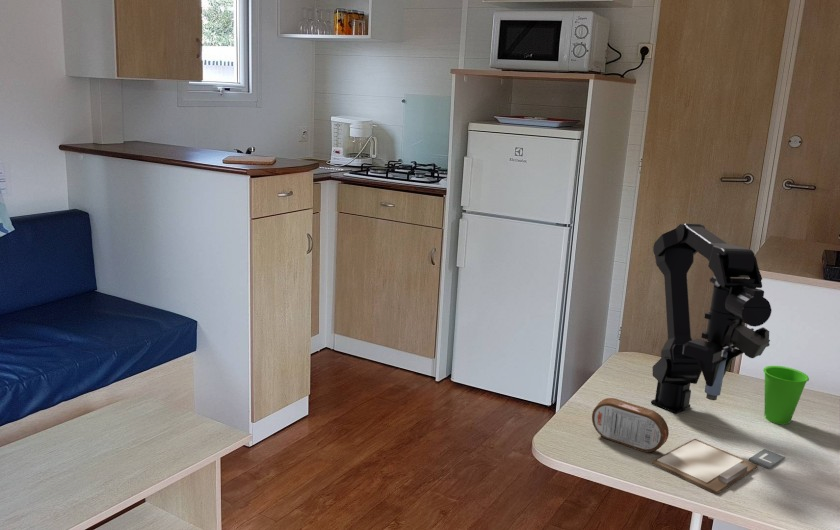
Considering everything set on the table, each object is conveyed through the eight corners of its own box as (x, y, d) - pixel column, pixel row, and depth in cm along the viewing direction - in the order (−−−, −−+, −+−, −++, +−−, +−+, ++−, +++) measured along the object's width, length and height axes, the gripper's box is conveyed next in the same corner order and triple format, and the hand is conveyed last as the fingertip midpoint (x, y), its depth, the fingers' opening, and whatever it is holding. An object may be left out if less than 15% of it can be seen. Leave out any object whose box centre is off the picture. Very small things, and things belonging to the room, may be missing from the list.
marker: (700, 397, 146) (707, 349, 144) (708, 393, 148) (715, 347, 146) (715, 402, 144) (722, 354, 141) (722, 399, 146) (730, 351, 143)
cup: (805, 431, 154) (815, 383, 152) (760, 425, 156) (769, 378, 153) (793, 414, 163) (802, 368, 160) (750, 408, 165) (758, 363, 162)
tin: (666, 453, 141) (672, 414, 139) (661, 459, 138) (667, 419, 136) (593, 429, 149) (598, 392, 147) (587, 434, 147) (592, 396, 145)
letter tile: (748, 460, 140) (748, 458, 140) (764, 450, 144) (764, 448, 144) (768, 469, 137) (769, 466, 137) (784, 458, 142) (785, 456, 141)
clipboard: (651, 463, 136) (652, 456, 136) (694, 441, 147) (695, 434, 146) (716, 494, 127) (717, 486, 127) (757, 468, 137) (759, 460, 137)
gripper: (743, 329, 130) (729, 409, 133) (787, 313, 142) (774, 387, 145) (686, 313, 138) (675, 389, 141) (733, 300, 150) (721, 370, 153)
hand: (713, 384), depth 145 cm, fingers closed on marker, 3 cm apart
